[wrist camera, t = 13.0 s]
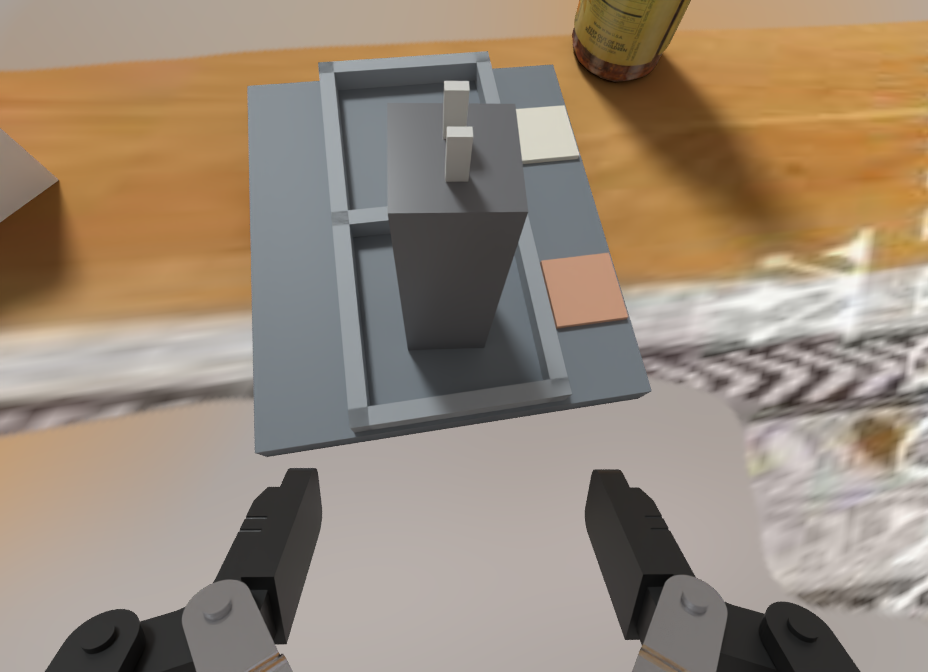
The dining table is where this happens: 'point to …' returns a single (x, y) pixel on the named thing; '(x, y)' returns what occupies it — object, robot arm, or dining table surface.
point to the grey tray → (374, 273)
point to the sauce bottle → (624, 35)
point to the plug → (453, 214)
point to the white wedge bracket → (19, 176)
